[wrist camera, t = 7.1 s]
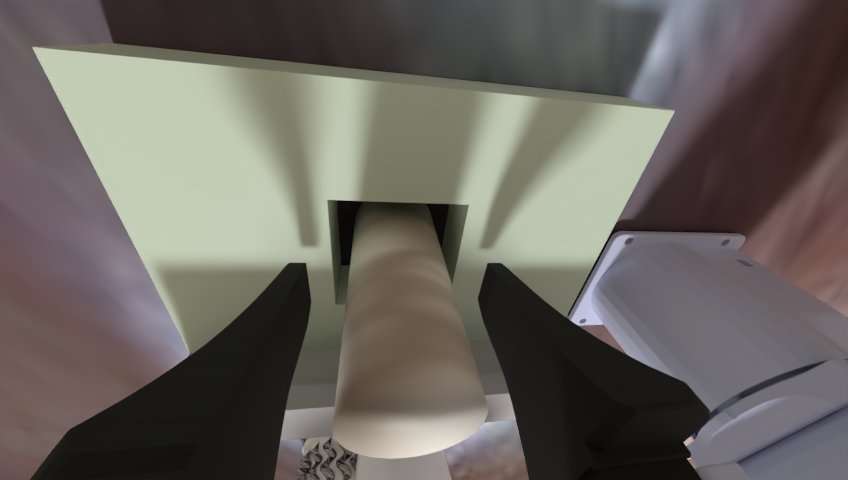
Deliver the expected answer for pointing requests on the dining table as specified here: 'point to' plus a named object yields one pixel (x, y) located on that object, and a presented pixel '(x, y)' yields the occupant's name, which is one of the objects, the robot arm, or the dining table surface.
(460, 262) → the socket board
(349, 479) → the decorative candle
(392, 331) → the peg
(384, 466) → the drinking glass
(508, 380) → the robot arm
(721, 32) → the dining table surface
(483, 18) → the dining table surface
